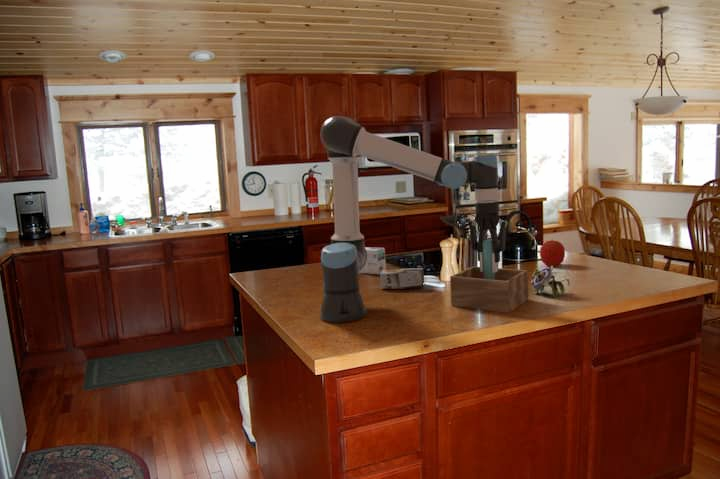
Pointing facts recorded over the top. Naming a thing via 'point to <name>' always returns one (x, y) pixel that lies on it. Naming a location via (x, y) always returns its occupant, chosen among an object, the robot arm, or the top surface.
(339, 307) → the robot arm
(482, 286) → the crate
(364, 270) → the light bulb box
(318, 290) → the top surface
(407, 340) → the top surface
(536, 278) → the passion flower
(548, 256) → the red round piece
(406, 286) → the coffee box
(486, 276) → the peg
